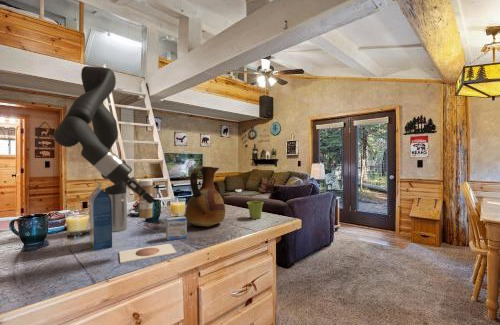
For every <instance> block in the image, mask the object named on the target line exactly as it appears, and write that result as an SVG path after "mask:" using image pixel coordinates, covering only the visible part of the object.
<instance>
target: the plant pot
mask: <svg viewBox="0 0 500 325" xmlns="http://www.w3.org/2000/svg"><path fill="white" fill-rule="evenodd" d="M246 204H247V206H248V212H249V218H250V219H252V220H257V219H261V218H262V213H263V212H262V211H263V207H264V206H263V205H264V204H265V203H264V201H259V200H253V201H252V200H251V201H247V202H246Z"/></svg>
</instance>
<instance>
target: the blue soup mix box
mask: <svg viewBox="0 0 500 325" xmlns="http://www.w3.org/2000/svg"><path fill="white" fill-rule="evenodd" d="M96 185H97V187H96V188H95V189H94V190H93V191H92V192H91V194H90V195H89V201H88V204H89V205H88V206H89V242H90V244H91V248H92V249H93V251H99V250H103V249H104V250H105V249H109V248H112V247H113V232H112V211H111V199H110V197H109V195H108V194H107V193H105V190H103V182H102V181H100V180H97V184H96Z"/></svg>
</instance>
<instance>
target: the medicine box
mask: <svg viewBox="0 0 500 325" xmlns="http://www.w3.org/2000/svg"><path fill="white" fill-rule="evenodd" d="M187 225H188V222H187V218H186V217H185V216H175V217H167V218H165V238H166V240H167V241H168V242H169V241H177V240H182V239H187V237H188V234H187V232H188V231H187V230H188V228H187Z"/></svg>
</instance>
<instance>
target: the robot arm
mask: <svg viewBox="0 0 500 325" xmlns="http://www.w3.org/2000/svg"><path fill="white" fill-rule="evenodd" d="M80 75H81V76H80V77H81V81H82V82H81V83H82V86H83V87H82V88H83V90H84V93H83V94H81V95H79V96H78V97H77V98H76V99H75V100H74V102H73V103H72V104H71V105H70V108H69V109H68V111H67V114H66V115H65V117H63V120H61V122H60V123H59V124H58V126H57V127H56V129H55V130H54V132H53V138H54V140H55V142H56V143H57V144H58V145H60V146H62V147H64V148H70V147H75V146H77V144H80V145H81V147H82V148H81V149H82V150H81V151H80V154H81V156H82V157H83V158H84V159H85V160H86V161H87V162H88V163H89V164H90V165H92V166H93V167H94V168H95V169H96V170H97V171H98V172H99V173H100V176H101V177H102V178H103V179H104V180H108V181H110V182H111V183H113V184H112V185H111V186H107V187H105V189H104V192H105V193H107V194H108V195H109V197H110V199H111V211H112V233H113V232H121V231H124V230H127V228H128V205H127V204H128V203H127V202H128V200H127V198H128V197H127V196H128V194H127V189H129V190H130V191H132V193H134V194H135V195H136V194H137V195H138V197H139V196H140V197H143V198H144V199H145V200H146V201H147V202H149V203H150V204H151V203H152V204H153V203H154V201H155V198H154V196H153V195H152V196H151V195H150V194H148V193H147V192H146V190H144V189H143V186H142V185H141V184H140V183H139V181H138V180H137V179H136V177H134V176H132V177H130V176H129V175H130V174H131V172H132V171H133V169H132V167H131V166H130V165H128V164H127V162H126V160H125V159H121V157H120V156H118V155H117V154H116V153H114V152H112V151H111V148H112V147H113V145H114V144H115V142H116V141H117V139H118V137H119V130H118V123H117V120H116V118H115V116H114V115H113V114H112V113H111V112H110V110H109V109H108V107H106V106H105V104H104V102H105V101H106V100H107V99H108V97H109V96H110V95H111V94H112V92H113V91H114V89H115V87H116V82H117V81H116V75H115V73H114V71H113V70H112V68H108V67H99V66H98V67H97V66H89V65H87V66H83V67H82V68H81V73H80ZM90 123H92V127H91V126H90ZM140 189H142V191H141V192H140Z"/></svg>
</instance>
